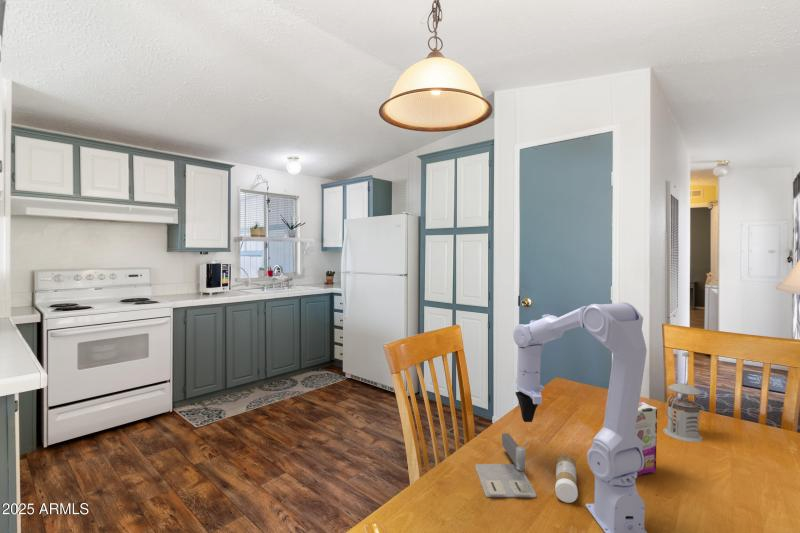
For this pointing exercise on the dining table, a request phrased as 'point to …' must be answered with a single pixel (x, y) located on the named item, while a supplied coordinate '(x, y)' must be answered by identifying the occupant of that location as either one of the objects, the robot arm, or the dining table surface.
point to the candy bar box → (647, 436)
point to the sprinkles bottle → (566, 479)
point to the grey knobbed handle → (514, 451)
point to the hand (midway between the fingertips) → (527, 420)
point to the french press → (683, 413)
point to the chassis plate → (504, 481)
